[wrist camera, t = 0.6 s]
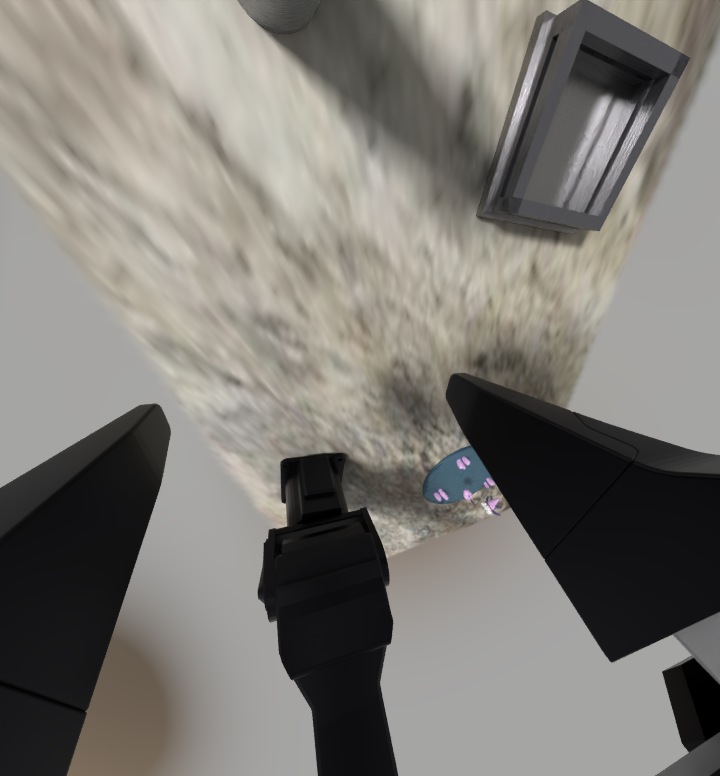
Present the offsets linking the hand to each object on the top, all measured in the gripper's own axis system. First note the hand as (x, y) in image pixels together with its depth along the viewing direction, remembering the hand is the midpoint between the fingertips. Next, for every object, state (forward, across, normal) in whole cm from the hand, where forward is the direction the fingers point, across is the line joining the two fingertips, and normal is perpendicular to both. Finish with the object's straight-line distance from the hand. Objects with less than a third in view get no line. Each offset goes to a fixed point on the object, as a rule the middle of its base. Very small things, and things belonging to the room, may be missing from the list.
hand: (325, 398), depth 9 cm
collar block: (+13, -18, -9) cm, 24 cm away
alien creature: (+13, -21, +25) cm, 35 cm away
